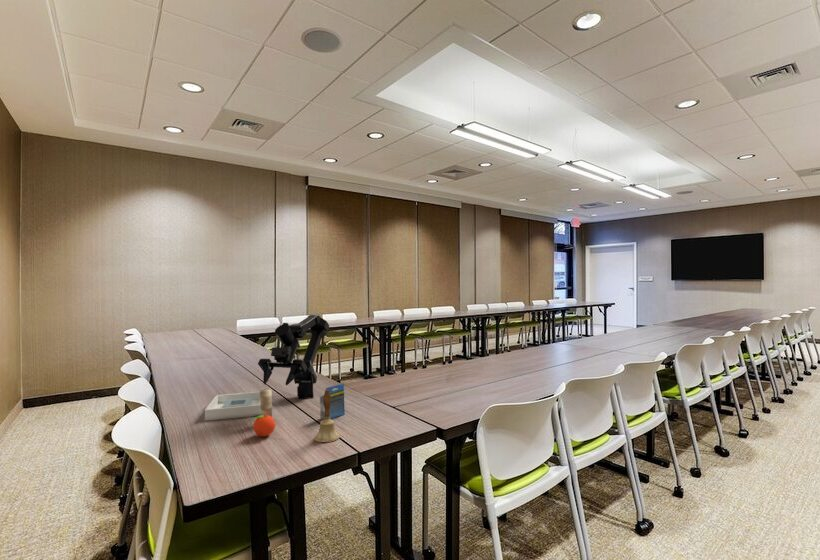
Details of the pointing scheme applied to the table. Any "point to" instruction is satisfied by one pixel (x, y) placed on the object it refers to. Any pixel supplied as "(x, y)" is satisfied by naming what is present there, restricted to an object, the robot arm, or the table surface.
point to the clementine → (264, 425)
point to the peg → (266, 402)
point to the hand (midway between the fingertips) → (275, 384)
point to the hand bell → (327, 423)
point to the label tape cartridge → (334, 402)
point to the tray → (233, 411)
